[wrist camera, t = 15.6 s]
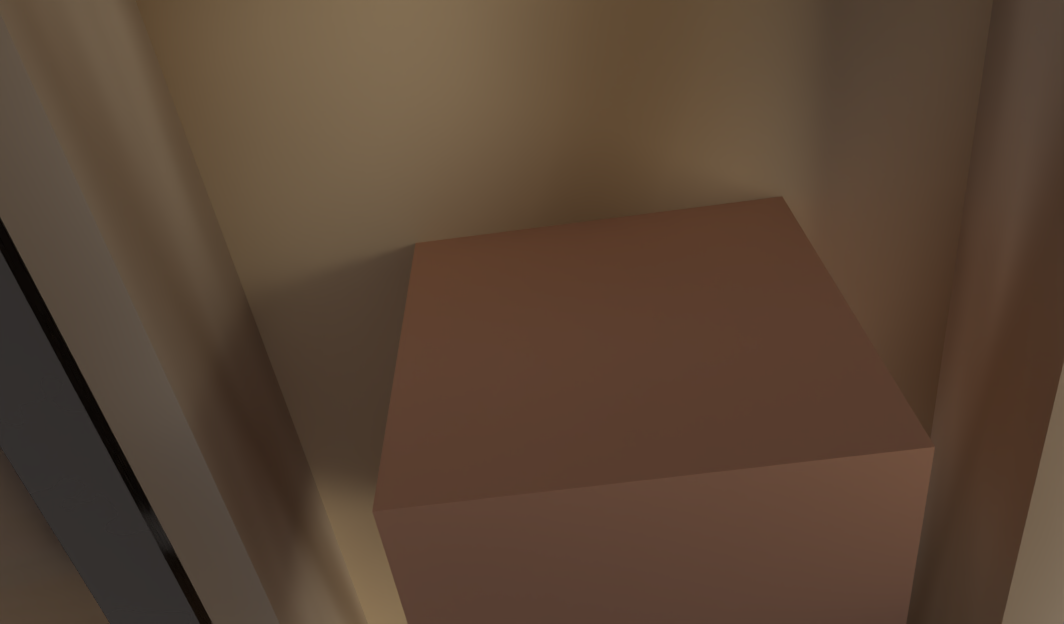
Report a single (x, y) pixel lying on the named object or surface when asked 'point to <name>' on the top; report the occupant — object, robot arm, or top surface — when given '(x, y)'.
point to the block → (646, 431)
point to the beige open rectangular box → (514, 204)
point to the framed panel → (80, 465)
